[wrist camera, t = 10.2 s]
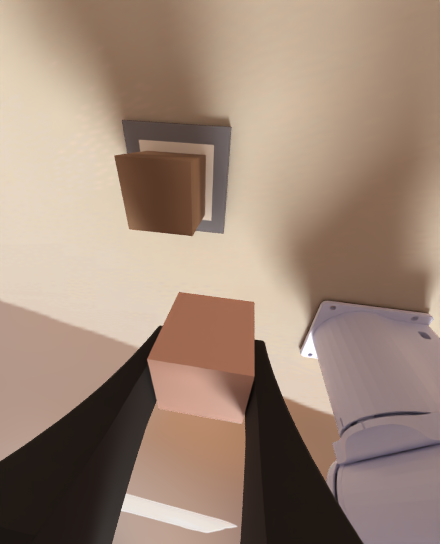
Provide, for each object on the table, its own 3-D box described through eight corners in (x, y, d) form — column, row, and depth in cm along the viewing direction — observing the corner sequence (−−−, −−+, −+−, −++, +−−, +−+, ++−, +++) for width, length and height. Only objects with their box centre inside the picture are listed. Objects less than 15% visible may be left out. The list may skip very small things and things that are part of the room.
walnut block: (205, 154, 14) (190, 161, 10) (205, 214, 16) (192, 236, 13) (147, 150, 14) (114, 155, 11) (154, 209, 16) (129, 229, 13)
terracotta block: (254, 302, 11) (254, 376, 7) (244, 350, 13) (241, 423, 10) (179, 292, 11) (147, 358, 8) (182, 340, 13) (158, 409, 10)
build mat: (231, 127, 13) (230, 126, 13) (223, 231, 17) (223, 234, 17) (125, 120, 14) (121, 119, 13) (141, 222, 18) (138, 225, 17)
